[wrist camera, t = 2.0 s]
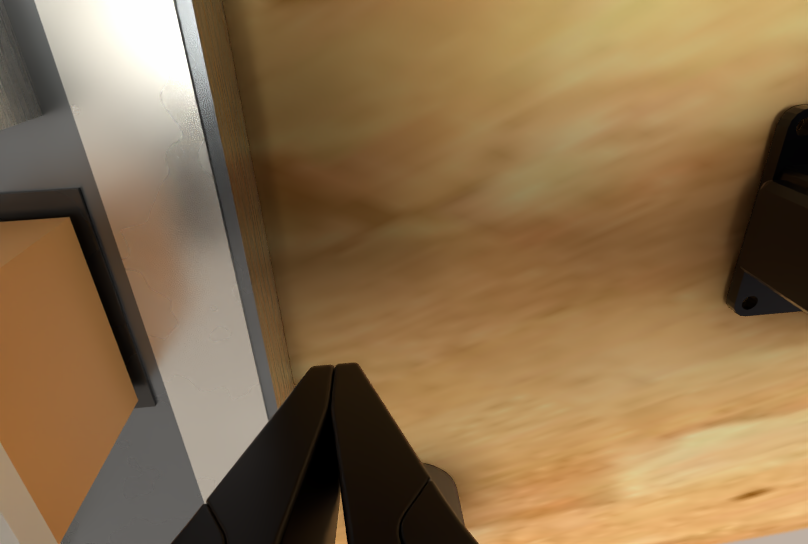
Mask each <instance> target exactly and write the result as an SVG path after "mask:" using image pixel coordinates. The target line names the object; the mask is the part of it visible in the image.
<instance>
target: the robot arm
mask: <svg viewBox="0 0 808 544" xmlns="http://www.w3.org/2000/svg"><path fill="white" fill-rule="evenodd" d="M803 119H804V120H803ZM802 120H803V125H802V126H801V128H800V129H799V130H798V131H797V132H796V129H797V126H798V124H799V122H800V121H802ZM747 297H748V298H747ZM746 298H747V300H745V299H746ZM744 300H745V301H744ZM743 301H744V302H743ZM726 303H727V305H728V307H729V308H730V309H732V310H733V311H734V312H735V313H737V314H738V315H740V316H753V315H764V314H775V313H786V312H797V311H804V312H805V313H807V314H808V104H807V105H798V106H794V107H792V108H790V109H789V110H787V111H786V112H785V113H784V114H783V115H782V116H781V118H780V120H779V122H778V124H777V127H776V130H775V133H774V137H773V140H772V144H771V147H770V151H769V154H768V157H767V161H766V164H765V168H764V171H763V175H762V178H761V181H760V185H759V188H758V192H757V195H756V199H755V202H754V205H753V209H752V212H751V216H750V219H749V223H748V226H747V230H746V233H745V236H744V240H743V243H742V247H741V250H740V254H739V257H738V260H737V264H736V267H735V271H734V274H733V278H732V281H731V284H730V288H729V291H728V295H727V299H726ZM340 491H341V497H342V505H343V512H344V520H345V527H346V535H347V543H348V544H479V543H478V542H477V541H476V540H475V538H474V537H473V536H472V535H471V533H470V532H469V531H468V530H467V528H466V527H465V526H464V525H463V524H462V522H461V521H460V520H459V518H458V517H457V515H456V514H455V512H454V511H453V509H452V508H451V507H450V505H449V504H448V502H447V501H446V499H445V498H444V496H443V495H442V493H441V492H440V490H439V489H438V487H437V486H436V484H435V482H434V481H432V480H431V477H430V475H429V473H428V472H427V470H426V469H425V467H424V466H423V464H422V463H421V461H420V459H419V458H418V456H417V455H416V453H415V452H414V450H413V448H412V447H411V445H410V444H409V442H408V441H407V439H406V438H405V436H404V434H403V433H402V431H401V430H400V428H399V427H398V425H397V424H396V422H395V420H394V419H393V417H392V416H391V414H390V413H389V411H388V409H387V408H386V406H385V405H384V403H383V402H382V400H381V399H380V397H379V395H378V394H377V392H376V391H375V389H374V388H373V386H372V384H371V383H370V381H369V380H368V378H367V377H366V375H365V374H364V372H363V370H362V369H361V367H360V366H359V364H357V363H343V364H337V365H336V366H335V367H334V366H333V365H320V366H313V367H311V368H310V369H309V371H308V372H307V373H306V374H305V376H304V377H303V378H302V379H301V381H300V382H299V383H298V384H297V386H296V387H295V388H294V390H293V391H292V392H291V393H290V395H289V396H288V397H287V398H286V400H285V401H284V402H283V403H282V405H281V406H280V407H279V408H278V410H277V411H276V412H275V414H274V415H273V416H272V417H271V419H270V420H269V421H268V422H267V424H266V425H265V426H264V427H263V429H262V430H261V431H260V433H259V434H258V435H257V436H256V438H255V439H254V440H253V441H252V443H251V444H250V445H249V446H248V448H247V449H246V450H245V452H244V453H243V454H242V455H241V457H240V458H239V459H238V460H237V462H236V463H235V464H234V465H233V467H232V468H231V469H230V470H229V472H228V473H227V474H226V476H225V477H224V478H223V479H222V481H221V482H220V483H219V484H218V486H217V487H216V488H215V489H214V491H213V492H212V493H211V495H210V496H209V497H208V498H207V500H206V504H202V506H201V507H200V508H199V509H198V511H197V512H196V513H195V514H194V516H193V517H192V518H191V520H190V521H189V522H188V523H187V524H186V526H185V527H184V528H183V529H182V530H181V532H180V533H179V534H178V535H177V536H176V538H175V539H174V540H173V541H172V542H171V544H335V538H336V529H337V520H338V511H339V502H340Z"/></svg>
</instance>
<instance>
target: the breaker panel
mask: <svg viewBox="0 0 808 544" xmlns="http://www.w3.org/2000/svg"><path fill="white" fill-rule="evenodd" d="M63 217H70V220H71V223H72V225H73V228H74V231H75V233H76V236H77V239H78V241H79V244H80V247H81V249H82V252H83V255H84V257H85V260H86V263H87V265H88V268H89V271H90V273H91V276H92V279H93V281H94V284H95V287H96V289H97V292H98V295H99V297H100V300H101V303H102V305H103V308H104V311H105V313H106V316H107V319H108V321H109V324H110V327H111V329H112V332H113V335H114V337H115V340H116V342H117V345H118V348H119V350H120V353H121V356H122V358H123V361H124V364H125V366H126V369H127V372H128V374H129V377H130V380H131V382H132V385H133V388H134V390H135V393H136V396H137V398H138V402H137V404H136V405H135V407H134V409H133V411H132V413H131V415H130V416H129V418H128V420H127V422H126V424H125V425H124V427H123V429H122V431H121V433H120V435H119V436H118V438H117V440H116V442H115V444H114V446H113V447H112V449H111V451H110V453H109V455H108V457H107V458H106V460H105V462H104V464H103V466H102V468H101V469H100V471H99V473H98V475H97V477H96V478H95V480H94V482H93V484H92V486H91V488H90V489H89V491H88V493H87V495H86V497H85V499H84V500H83V502H82V504H81V506H80V508H79V510H78V511H77V513H76V515H75V517H74V519H73V521H72V522H71V524H70V526H69V528H68V530H67V531H66V533H65V535H64V537H63V539H62V541H61V542H60V544H171V542H172V541H173V540H174V539H175V538H176V536H177V535H178V534H179V533H180V532H181V530H182V529H183V528H184V527H185V526H186V524H187V523H188V522H189V521H190V520H191V518H192V517H193V516H194V514H195V513H196V512H197V511H198V509H199V508H200V507H201V506H202V504H206V500H207V498H208V497H209V496H210V495H211V493H212V492H213V491H214V489H215V488H216V487H217V486H218V484H219V483H220V482H221V481H222V479H223V478H224V477H225V476H226V474H227V473H228V472H229V470H230V469H231V468H232V467H233V465H234V464H235V463H236V462H237V460H238V459H239V458H240V457H241V455H242V454H243V453H244V452H245V450H246V449H247V448H248V446H249V445H250V444H251V443H252V441H253V440H254V439H255V438H256V436H257V435H258V434H259V433H260V431H261V430H262V429H263V427H264V426H265V425H266V424H267V422H268V421H269V420H270V419H271V417H272V416H273V415H274V414H275V412H276V411H277V410H278V408H279V407H280V406H281V405H282V403H283V402H284V401H285V400H286V398H287V397H288V396H289V395H290V393H291V392H292V391H293V390H294V384H293V378H292V373H291V368H290V362H289V357H288V351H287V346H286V341H285V335H284V330H283V325H282V319H281V314H280V309H279V303H278V298H277V292H276V287H275V282H274V276H273V271H272V266H271V260H270V255H269V250H268V244H267V239H266V233H265V228H264V223H263V217H262V212H261V207H260V201H259V196H258V190H257V185H256V180H255V174H254V169H253V164H252V158H251V153H250V148H249V142H248V137H247V131H246V126H245V121H244V115H243V110H242V105H241V99H240V94H239V89H238V83H237V78H236V72H235V67H234V62H233V56H232V51H231V46H230V40H229V35H228V30H227V24H226V19H225V13H224V8H223V3H222V0H0V222H7V221H21V220H35V219H49V218H63Z"/></svg>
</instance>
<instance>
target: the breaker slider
mask: <svg viewBox="0 0 808 544" xmlns="http://www.w3.org/2000/svg"><path fill="white" fill-rule="evenodd" d="M137 402H138V398H137V396H136V393H135V390H134V388H133V385H132V382H131V380H130V377H129V374H128V372H127V369H126V366H125V364H124V361H123V358H122V356H121V353H120V350H119V348H118V345H117V342H116V340H115V337H114V335H113V332H112V329H111V327H110V324H109V321H108V319H107V316H106V313H105V311H104V308H103V305H102V303H101V300H100V297H99V295H98V292H97V289H96V287H95V284H94V281H93V279H92V276H91V273H90V271H89V268H88V265H87V263H86V260H85V257H84V255H83V252H82V249H81V247H80V244H79V241H78V239H77V236H76V233H75V231H74V228H73V225H72V223H71V220H70V217H63V218H49V219H35V220H21V221H7V222H0V544H60V542H61V541H62V539H63V537H64V535H65V533H66V531H67V530H68V528H69V526H70V524H71V522H72V521H73V519H74V517H75V515H76V513H77V511H78V510H79V508H80V506H81V504H82V502H83V500H84V499H85V497H86V495H87V493H88V491H89V489H90V488H91V486H92V484H93V482H94V480H95V478H96V477H97V475H98V473H99V471H100V469H101V468H102V466H103V464H104V462H105V460H106V458H107V457H108V455H109V453H110V451H111V449H112V447H113V446H114V444H115V442H116V440H117V438H118V436H119V435H120V433H121V431H122V429H123V427H124V425H125V424H126V422H127V420H128V418H129V416H130V415H131V413H132V411H133V409H134V407H135V405H136V404H137Z"/></svg>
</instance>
